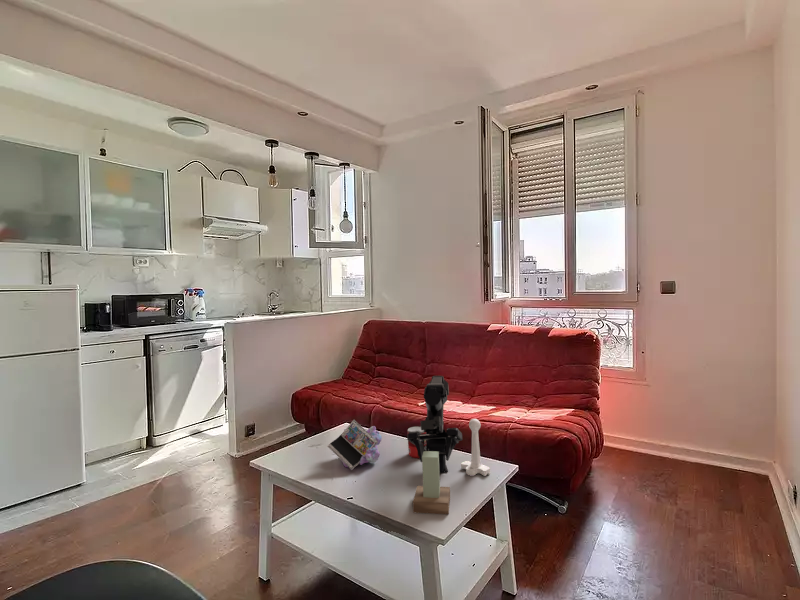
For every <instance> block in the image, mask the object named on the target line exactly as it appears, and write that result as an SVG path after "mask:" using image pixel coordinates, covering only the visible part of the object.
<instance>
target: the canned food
mask: <svg viewBox="0 0 800 600" xmlns="http://www.w3.org/2000/svg"><path fill="white" fill-rule="evenodd" d="M414 431H418V432H419V433H421V434H426V432H424V430H421V426H411V427H409V428H408V429H407V434H408V433H409V432H414ZM426 440H427V439H426ZM426 440H423V442H422V444H424V451H427V449H426ZM407 444H408V445H407V446H408V450H407V451H408V455H409V457H410V458H412V459H420V458H419V455H418V451H417V448H416V446H415V445H414V444H412V443H411V442H410V441H409V440H407ZM424 451H423V452H424Z"/></svg>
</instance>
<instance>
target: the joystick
mask: <svg viewBox="0 0 800 600" xmlns="http://www.w3.org/2000/svg"><path fill="white" fill-rule="evenodd" d="M481 425H482V424H481V422H480V420H479V419H477V418H472V419H470V421H469V422H468V427H469V429H470V430H471V452H470V453H471V455H470V456H471V457H470V459H471V461H469V460H465V461H463V462H461V463H460V467H461V468H460V469H463V470H465V473H466V475H467V476H469V475H470V476H471V477H474V476H476V474H481V475H482V476H484V477H485V476H487V475H488V476H489V475H491V468H490V466H487V465H484V464H483V463H482V461H481V451H480V450H481V449H480V441H479V440H480V439H479V430H480V429H481Z"/></svg>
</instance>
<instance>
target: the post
mask: <svg viewBox="0 0 800 600" xmlns="http://www.w3.org/2000/svg"><path fill="white" fill-rule="evenodd" d="M421 464H422V465H421V466H422V486H423V497H427V498H439V495H440V487H441V481H440V480H441V478H440V473H441V472H439V452H437V451H424V452H423V455H422V462H421Z"/></svg>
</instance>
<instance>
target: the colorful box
mask: <svg viewBox="0 0 800 600" xmlns="http://www.w3.org/2000/svg"><path fill="white" fill-rule="evenodd" d="M380 433H381V432H380V431H378V430H377V428H376V426H375V425H373V426H370V427H369V428H368V429H367V430H366V429H365V427H363V426H361V424H359V423H358V421H356V420H355V419H353V420H352V421H351V423H349V425H348V426H347V427H346V428H345V429H343V432H342V433H341V434H340V435H339V436H337V437H336V438H335V439H334V440H332V441H331V442H330V443H328V444H327V445H326V447H327V448H328V449H329V450H331V452H332V453H333V454H334V455H335V456H336V457H338V459H339V460H340V461H341V462H342V464H343V466H344V468H349V470H350V471H352V470H354V468H356V467H357V466H358V465H361V466H362V465H363V464H367V463H376V462H377V461H378V460H379V458H380V456H381V453H380V451H379V447H378V446H379V445H380V444H381V442H382V435H381V434H380Z"/></svg>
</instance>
